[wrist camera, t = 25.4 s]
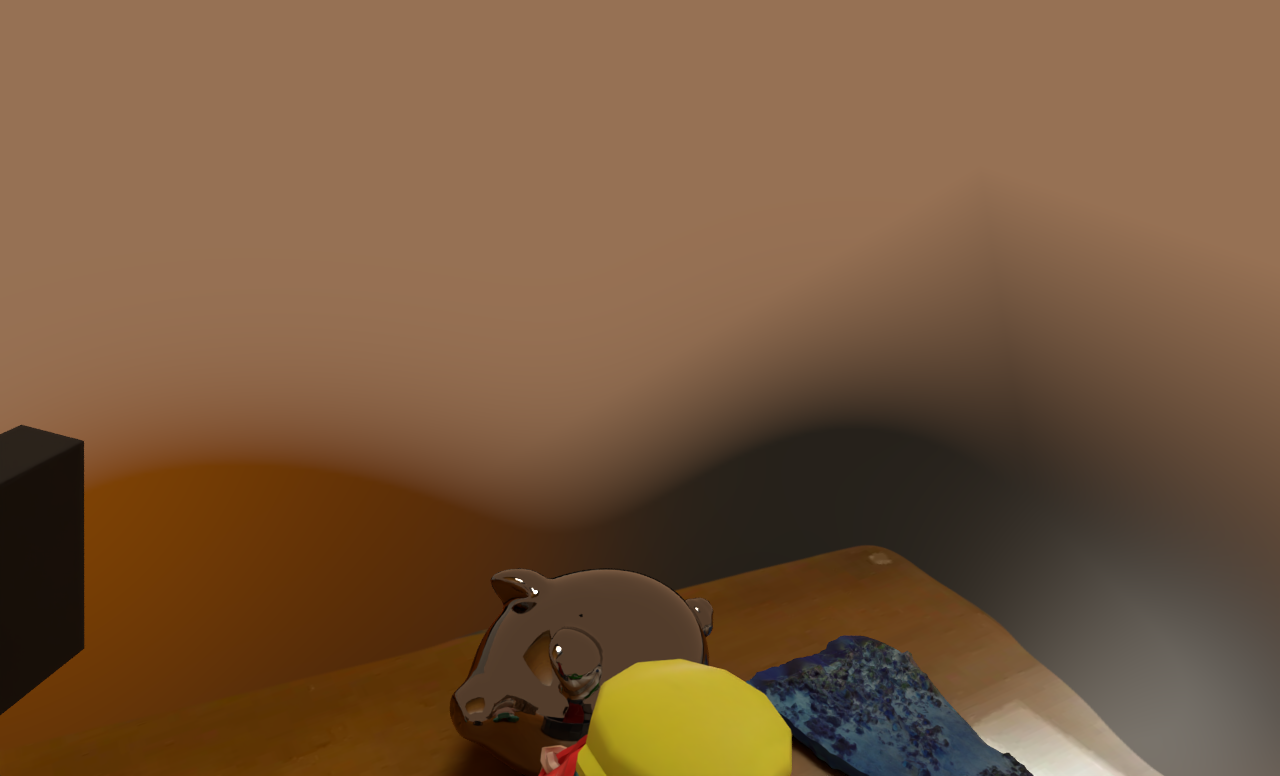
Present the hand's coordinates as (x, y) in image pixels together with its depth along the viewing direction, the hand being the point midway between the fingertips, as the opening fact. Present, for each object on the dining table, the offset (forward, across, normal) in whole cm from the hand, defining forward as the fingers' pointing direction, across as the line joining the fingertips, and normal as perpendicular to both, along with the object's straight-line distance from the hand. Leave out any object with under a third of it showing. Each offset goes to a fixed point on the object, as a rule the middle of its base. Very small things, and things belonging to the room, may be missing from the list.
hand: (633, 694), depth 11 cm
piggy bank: (+36, -4, -32) cm, 48 cm away
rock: (+46, +15, -32) cm, 58 cm away
